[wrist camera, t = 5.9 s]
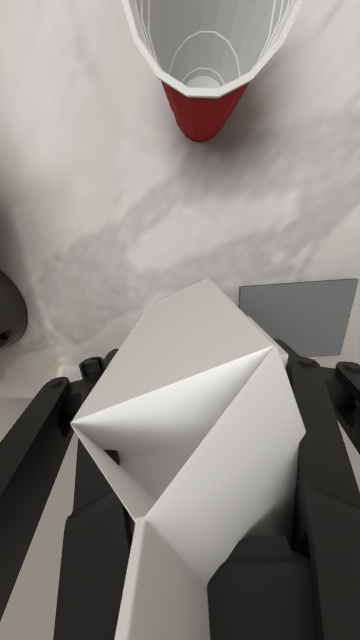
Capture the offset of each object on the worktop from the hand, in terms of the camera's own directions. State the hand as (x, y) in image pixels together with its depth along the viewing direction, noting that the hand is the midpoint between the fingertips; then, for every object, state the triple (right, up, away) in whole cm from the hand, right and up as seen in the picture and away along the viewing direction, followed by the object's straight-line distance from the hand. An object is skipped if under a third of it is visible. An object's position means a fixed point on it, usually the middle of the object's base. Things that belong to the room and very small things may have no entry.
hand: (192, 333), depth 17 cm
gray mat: (+16, +1, +12) cm, 20 cm away
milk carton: (0, +1, +4) cm, 4 cm away
